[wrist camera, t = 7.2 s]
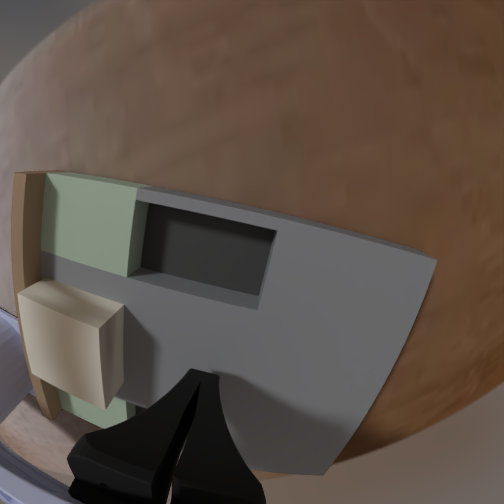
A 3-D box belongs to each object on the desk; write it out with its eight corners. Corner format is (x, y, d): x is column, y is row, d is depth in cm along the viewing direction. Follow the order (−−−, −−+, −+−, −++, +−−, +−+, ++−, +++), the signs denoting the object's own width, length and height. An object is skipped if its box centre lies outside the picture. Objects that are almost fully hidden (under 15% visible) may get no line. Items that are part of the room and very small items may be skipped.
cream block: (54, 352, 14) (31, 373, 11) (47, 277, 13) (17, 293, 10) (123, 382, 14) (105, 410, 11) (124, 304, 13) (98, 328, 10)
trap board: (64, 388, 17) (42, 415, 14) (56, 170, 13) (14, 172, 10) (320, 455, 17) (325, 491, 14) (418, 250, 13) (454, 269, 10)
